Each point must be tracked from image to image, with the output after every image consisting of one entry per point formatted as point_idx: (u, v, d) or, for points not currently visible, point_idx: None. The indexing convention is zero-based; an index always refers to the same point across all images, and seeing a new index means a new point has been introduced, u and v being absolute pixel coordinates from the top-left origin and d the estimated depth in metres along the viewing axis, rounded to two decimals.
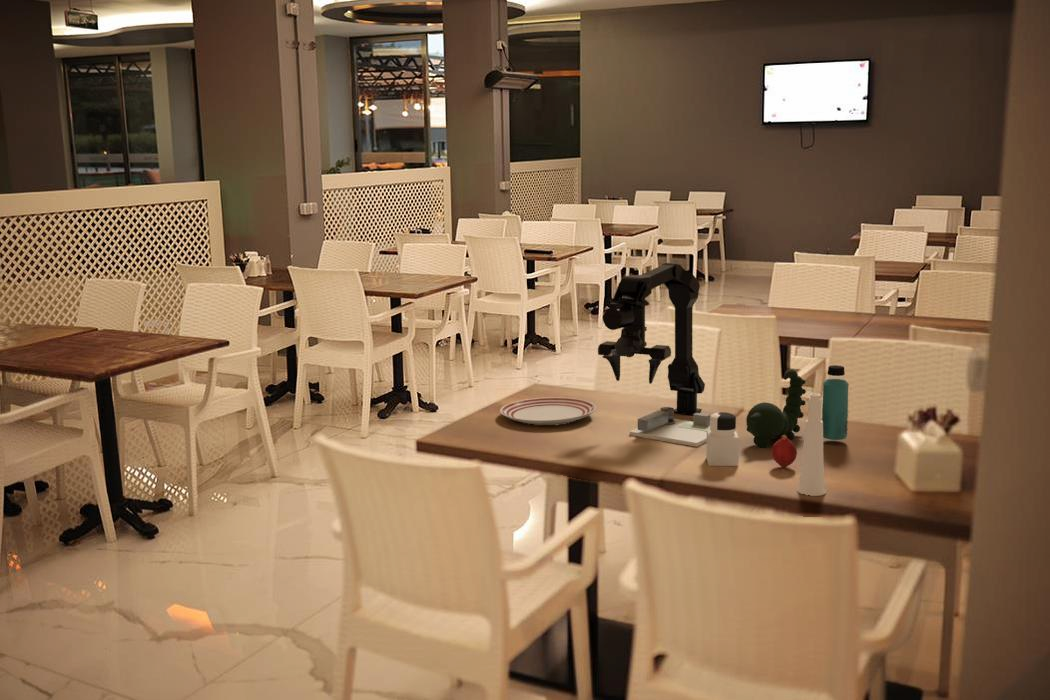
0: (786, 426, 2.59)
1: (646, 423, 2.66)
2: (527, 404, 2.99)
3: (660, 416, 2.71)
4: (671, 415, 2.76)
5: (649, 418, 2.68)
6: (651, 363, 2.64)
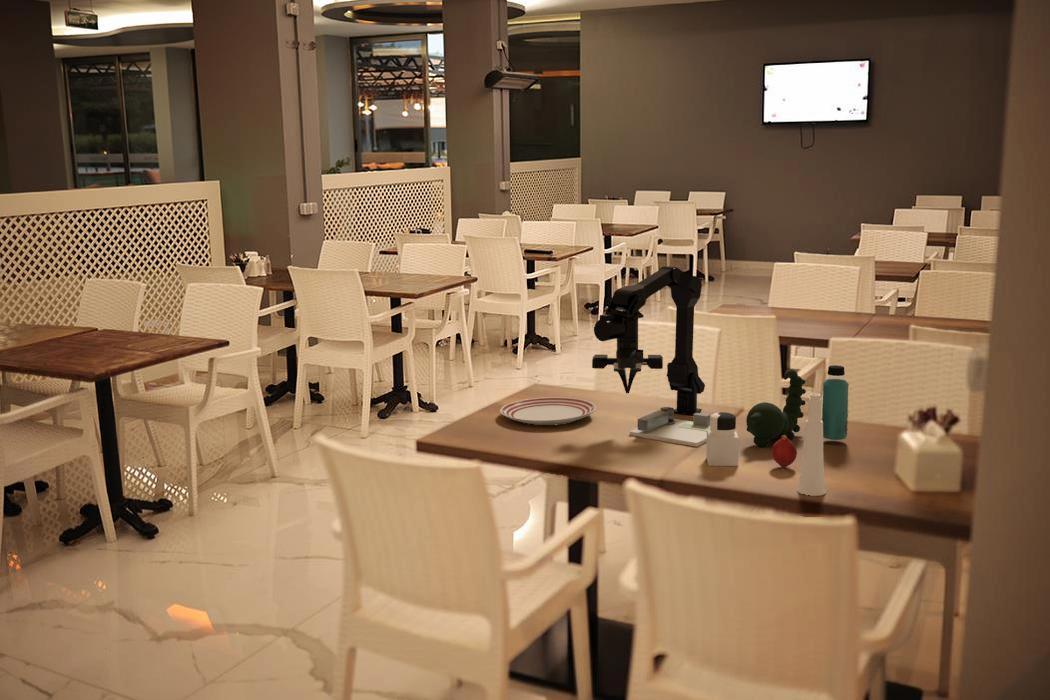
0: (786, 426, 2.59)
1: (646, 423, 2.66)
2: (527, 404, 2.99)
3: (660, 416, 2.71)
4: (671, 415, 2.76)
5: (649, 418, 2.68)
6: (632, 373, 2.70)
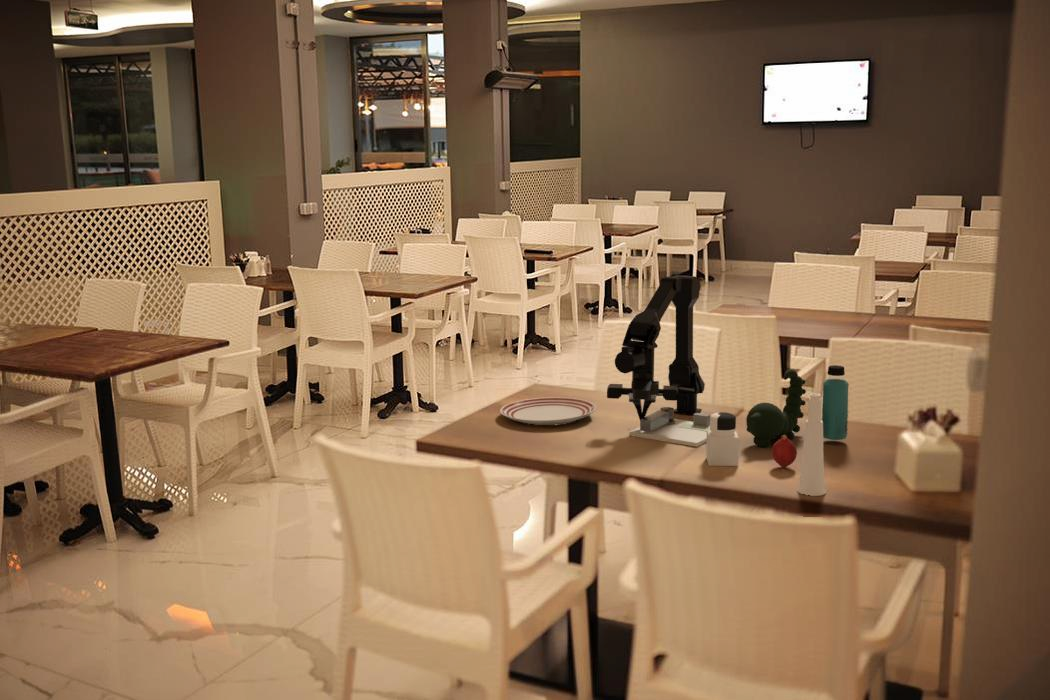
0: (786, 426, 2.59)
1: (649, 423, 2.66)
2: (527, 404, 2.99)
3: (661, 416, 2.71)
4: (671, 415, 2.76)
5: (651, 418, 2.67)
6: (646, 403, 2.68)
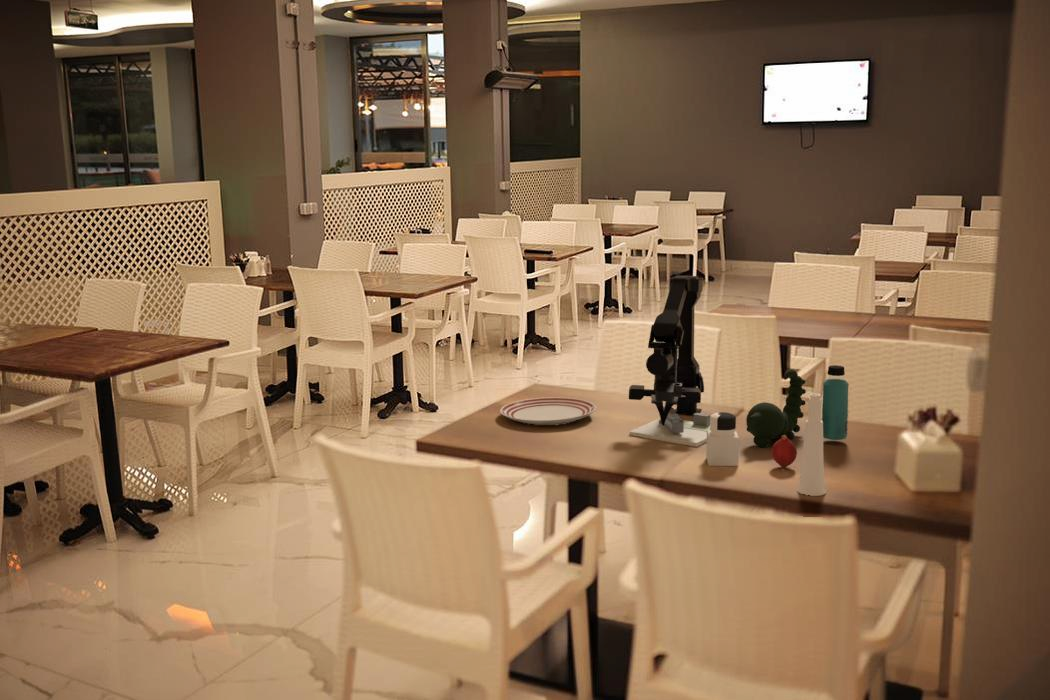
0: (786, 426, 2.59)
1: (682, 424, 2.64)
2: (527, 404, 2.99)
3: None
4: None
5: (679, 419, 2.66)
6: (668, 405, 2.65)
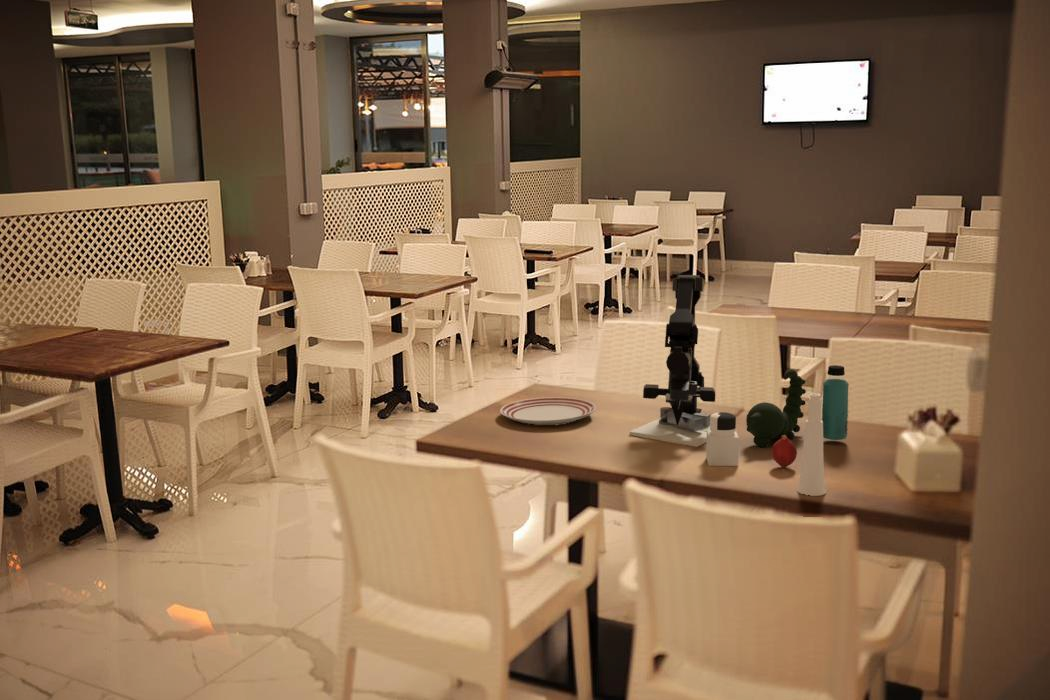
0: (786, 426, 2.59)
1: (702, 422, 2.67)
2: (527, 404, 2.99)
3: None
4: None
5: (696, 417, 2.68)
6: (682, 404, 2.66)
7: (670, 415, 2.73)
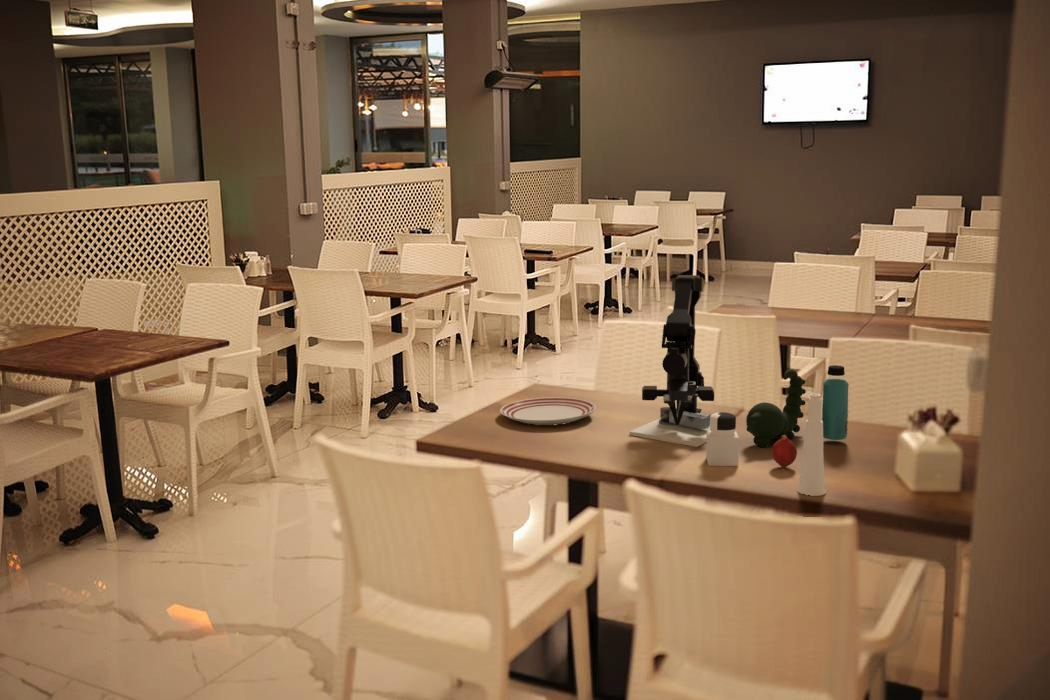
0: (786, 426, 2.59)
1: (708, 420, 2.68)
2: (527, 404, 2.99)
3: None
4: None
5: (701, 415, 2.69)
6: (682, 405, 2.66)
7: (672, 415, 2.74)
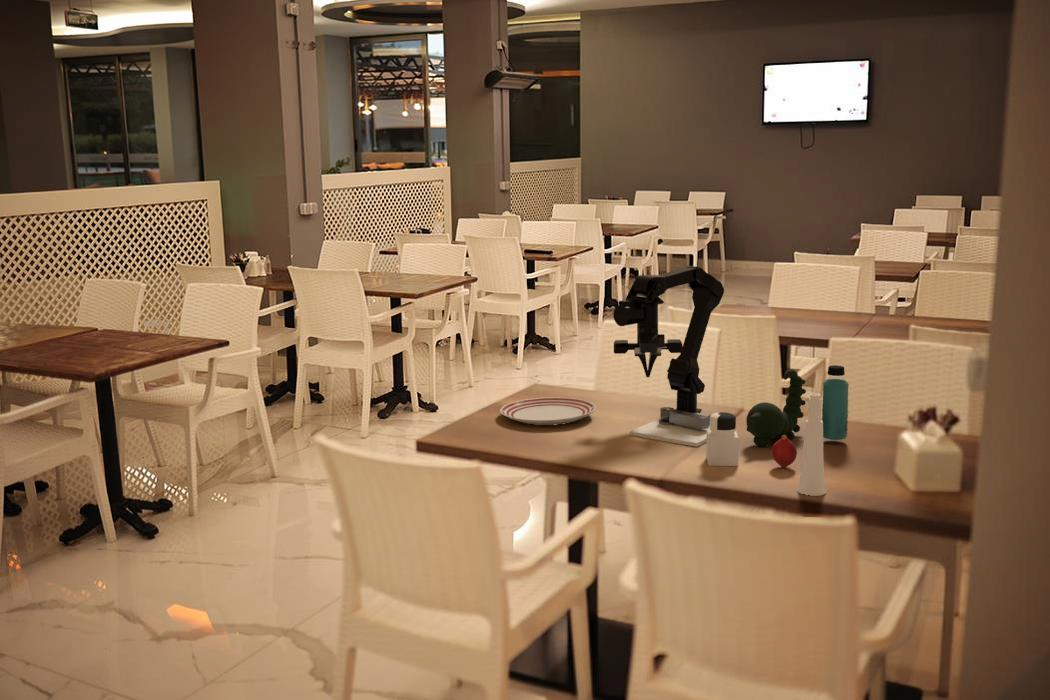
0: (786, 426, 2.59)
1: (708, 420, 2.68)
2: (527, 404, 2.99)
3: None
4: None
5: (701, 415, 2.69)
6: (652, 357, 2.77)
7: (672, 415, 2.74)
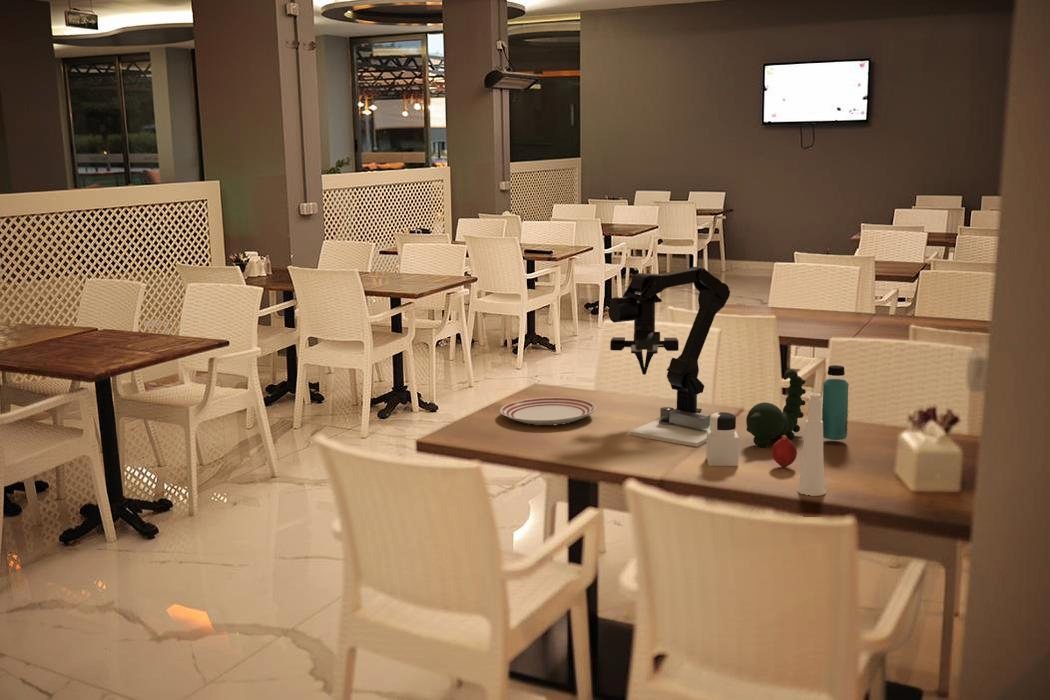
0: (786, 426, 2.59)
1: (708, 420, 2.68)
2: (527, 404, 2.99)
3: None
4: None
5: (701, 415, 2.69)
6: (648, 355, 2.80)
7: (672, 415, 2.74)
